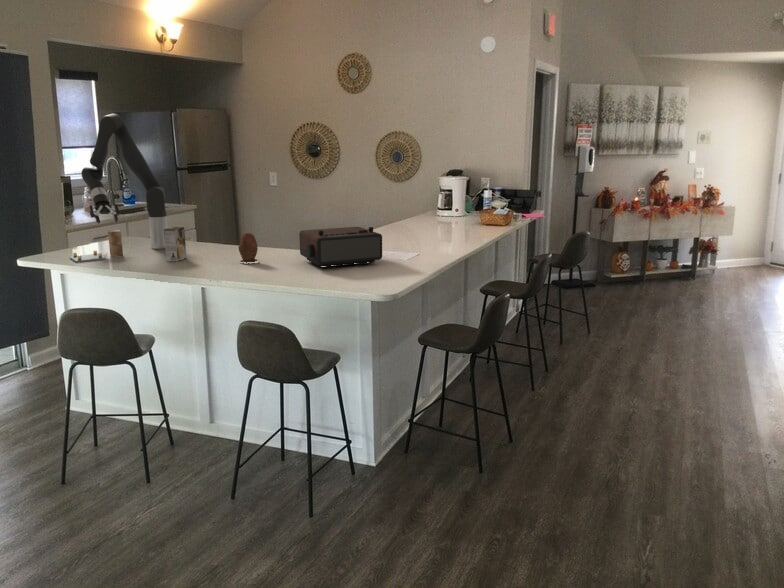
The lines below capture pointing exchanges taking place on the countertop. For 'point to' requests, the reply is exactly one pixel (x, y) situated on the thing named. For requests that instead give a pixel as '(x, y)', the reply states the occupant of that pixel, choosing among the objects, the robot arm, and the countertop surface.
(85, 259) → the dock
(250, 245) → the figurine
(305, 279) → the countertop surface
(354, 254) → the radio receiver
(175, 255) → the coffee box
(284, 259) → the countertop surface
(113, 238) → the walnut block
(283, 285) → the countertop surface
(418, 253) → the countertop surface
